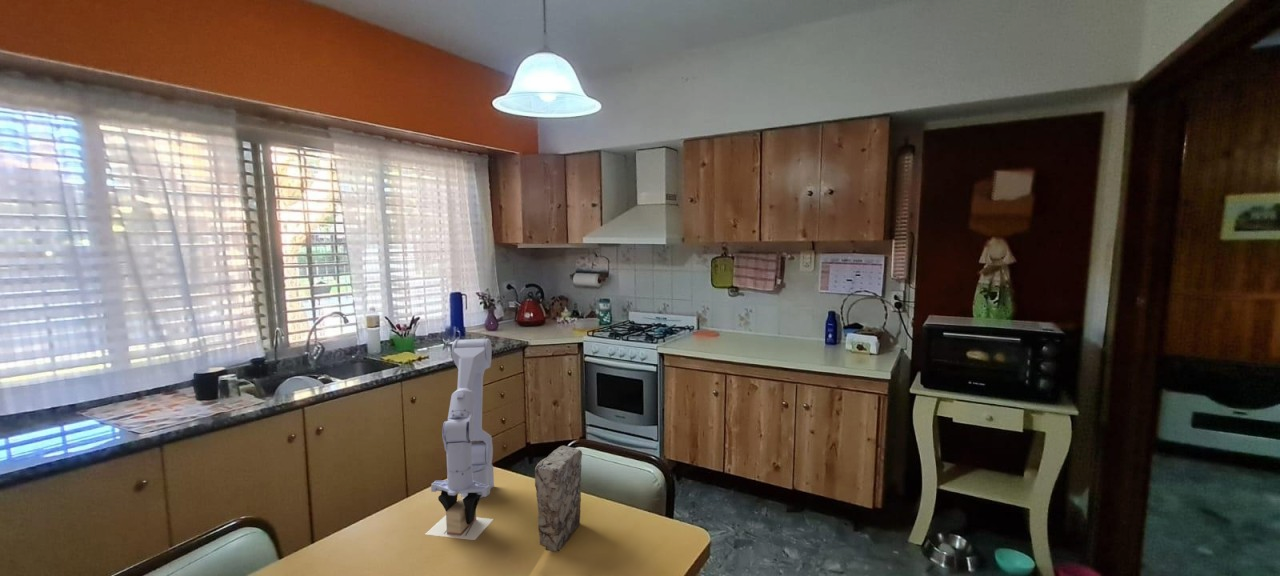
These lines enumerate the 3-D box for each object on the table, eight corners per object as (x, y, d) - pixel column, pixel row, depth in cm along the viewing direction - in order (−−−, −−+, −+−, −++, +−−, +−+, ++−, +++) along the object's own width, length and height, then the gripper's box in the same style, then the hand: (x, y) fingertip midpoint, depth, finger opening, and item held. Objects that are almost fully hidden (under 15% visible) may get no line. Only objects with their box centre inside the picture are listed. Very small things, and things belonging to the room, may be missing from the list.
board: (446, 518, 123) (446, 514, 123) (493, 523, 120) (493, 518, 120) (424, 539, 114) (424, 534, 114) (475, 545, 111) (474, 540, 111)
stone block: (564, 554, 108) (562, 468, 106) (535, 550, 109) (533, 465, 108) (584, 522, 120) (582, 445, 119) (558, 519, 122) (556, 442, 121)
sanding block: (463, 518, 121) (462, 497, 120) (476, 519, 120) (475, 498, 120) (446, 534, 114) (445, 511, 113) (460, 535, 113) (459, 513, 113)
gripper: (422, 472, 113) (424, 527, 114) (478, 477, 111) (480, 533, 112) (440, 459, 120) (442, 511, 121) (493, 463, 117) (495, 517, 118)
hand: (461, 521), depth 117 cm, fingers open, 4 cm apart
